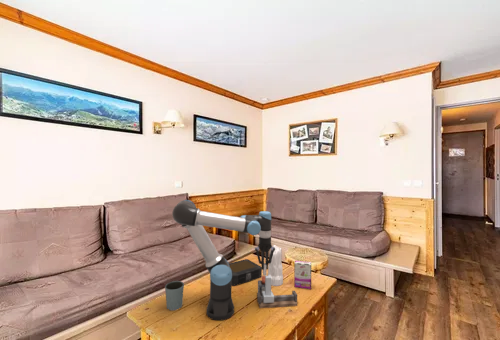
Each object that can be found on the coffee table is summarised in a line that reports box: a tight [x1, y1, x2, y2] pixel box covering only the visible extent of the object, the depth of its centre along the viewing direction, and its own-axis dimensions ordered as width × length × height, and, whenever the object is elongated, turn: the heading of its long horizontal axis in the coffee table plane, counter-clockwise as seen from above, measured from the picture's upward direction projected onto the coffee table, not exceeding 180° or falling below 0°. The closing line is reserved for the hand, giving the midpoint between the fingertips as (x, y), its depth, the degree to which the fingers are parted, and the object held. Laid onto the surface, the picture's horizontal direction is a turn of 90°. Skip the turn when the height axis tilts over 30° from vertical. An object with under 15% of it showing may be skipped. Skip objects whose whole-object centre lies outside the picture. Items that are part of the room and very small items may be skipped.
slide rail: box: [256, 290, 298, 309], centre depth 137 cm, size 23×8×6 cm, turn 98°
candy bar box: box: [293, 260, 312, 290], centre depth 156 cm, size 11×5×16 cm, turn 76°
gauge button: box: [261, 275, 266, 284], centre depth 145 cm, size 3×3×4 cm
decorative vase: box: [267, 244, 284, 287], centre depth 162 cm, size 11×11×25 cm
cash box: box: [228, 258, 263, 287], centre depth 170 cm, size 25×20×8 cm
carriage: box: [262, 275, 274, 303], centre depth 136 cm, size 6×6×14 cm
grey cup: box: [164, 280, 185, 311], centre depth 132 cm, size 10×10×12 cm
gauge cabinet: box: [257, 279, 265, 296], centre depth 145 cm, size 7×6×8 cm
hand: (264, 274), depth 145 cm, fingers closed
